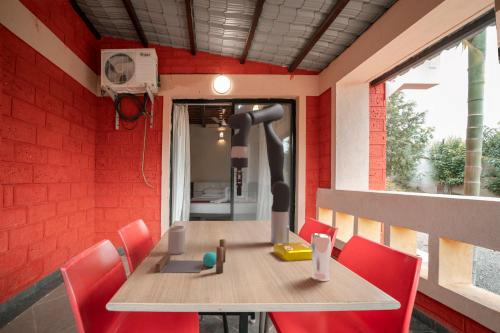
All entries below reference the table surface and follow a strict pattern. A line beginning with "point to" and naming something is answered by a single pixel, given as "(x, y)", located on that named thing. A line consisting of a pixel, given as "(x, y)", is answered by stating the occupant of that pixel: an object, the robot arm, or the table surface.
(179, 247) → the can
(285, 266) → the table surface
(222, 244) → the post
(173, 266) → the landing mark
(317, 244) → the silver metal tumbler
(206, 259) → the ball
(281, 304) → the table surface
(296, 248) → the element tile
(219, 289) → the table surface
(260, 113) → the robot arm
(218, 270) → the post
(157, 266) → the strip
